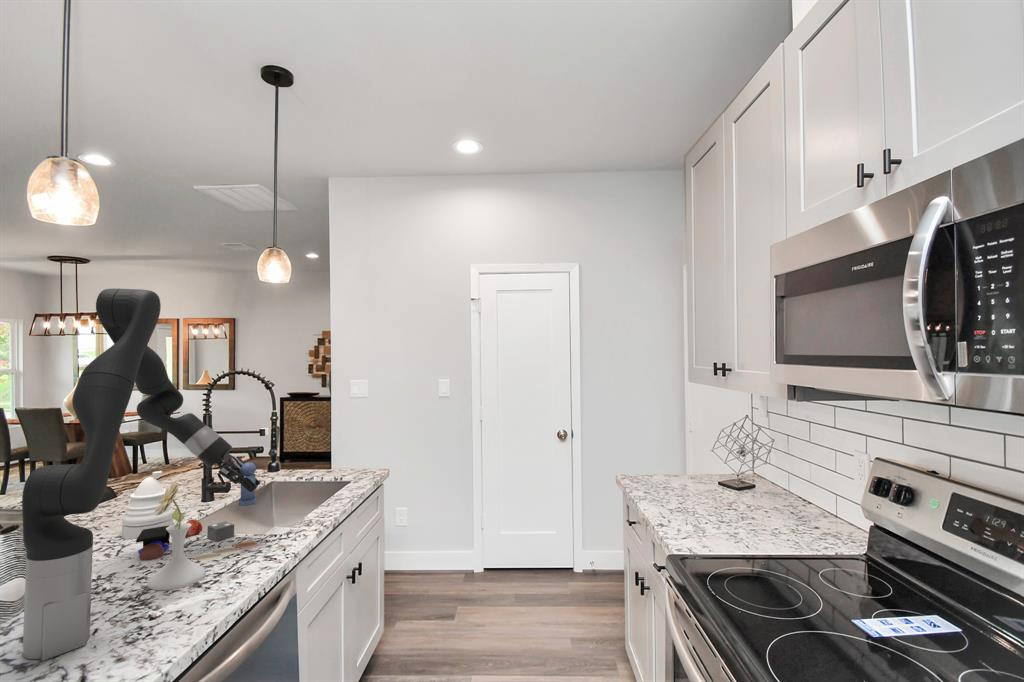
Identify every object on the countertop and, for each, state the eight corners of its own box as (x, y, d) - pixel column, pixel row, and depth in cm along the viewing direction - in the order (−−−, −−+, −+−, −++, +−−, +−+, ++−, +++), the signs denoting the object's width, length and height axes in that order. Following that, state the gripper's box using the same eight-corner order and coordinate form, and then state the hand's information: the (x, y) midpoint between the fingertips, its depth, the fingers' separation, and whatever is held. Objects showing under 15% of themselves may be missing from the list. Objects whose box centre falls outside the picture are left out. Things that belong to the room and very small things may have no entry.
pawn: (259, 503, 139) (260, 462, 140) (243, 507, 136) (244, 464, 136) (251, 500, 142) (252, 460, 142) (235, 504, 138) (236, 462, 139)
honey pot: (171, 522, 162) (173, 466, 163) (174, 532, 152) (176, 473, 153) (121, 530, 155) (123, 472, 155) (121, 542, 144) (123, 480, 145)
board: (264, 550, 138) (264, 544, 138) (202, 570, 125) (202, 564, 125) (248, 544, 143) (249, 538, 143) (187, 562, 130) (188, 557, 130)
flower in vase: (156, 579, 120) (159, 475, 121) (210, 572, 124) (212, 471, 125) (137, 604, 108) (140, 488, 108) (197, 595, 112) (200, 483, 113)
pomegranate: (186, 541, 150) (169, 532, 144) (198, 523, 153) (182, 514, 147) (201, 545, 148) (184, 536, 142) (212, 527, 151) (196, 517, 146)
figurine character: (141, 555, 139) (133, 568, 126) (142, 526, 140) (134, 536, 127) (170, 550, 142) (165, 562, 129) (171, 522, 143) (167, 532, 130)
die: (233, 541, 145) (234, 523, 145) (215, 547, 140) (216, 528, 141) (225, 538, 147) (225, 520, 148) (207, 543, 143) (207, 525, 143)
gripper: (211, 440, 131) (261, 483, 134) (226, 432, 144) (271, 472, 147) (188, 461, 129) (239, 505, 132) (205, 451, 143) (251, 491, 145)
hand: (255, 487), depth 139 cm, fingers closed on pawn, 3 cm apart
